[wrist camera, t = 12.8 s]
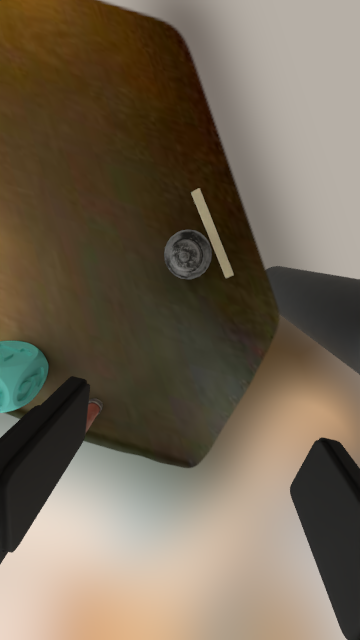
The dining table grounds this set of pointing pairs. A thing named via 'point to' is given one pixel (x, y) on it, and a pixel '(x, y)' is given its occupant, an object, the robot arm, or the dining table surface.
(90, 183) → the dining table surface
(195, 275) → the dark grey chess piece
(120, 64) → the dining table surface
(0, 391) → the decorative dice
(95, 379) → the dining table surface
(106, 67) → the dining table surface
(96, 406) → the lighter
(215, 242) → the beige long thin bar
